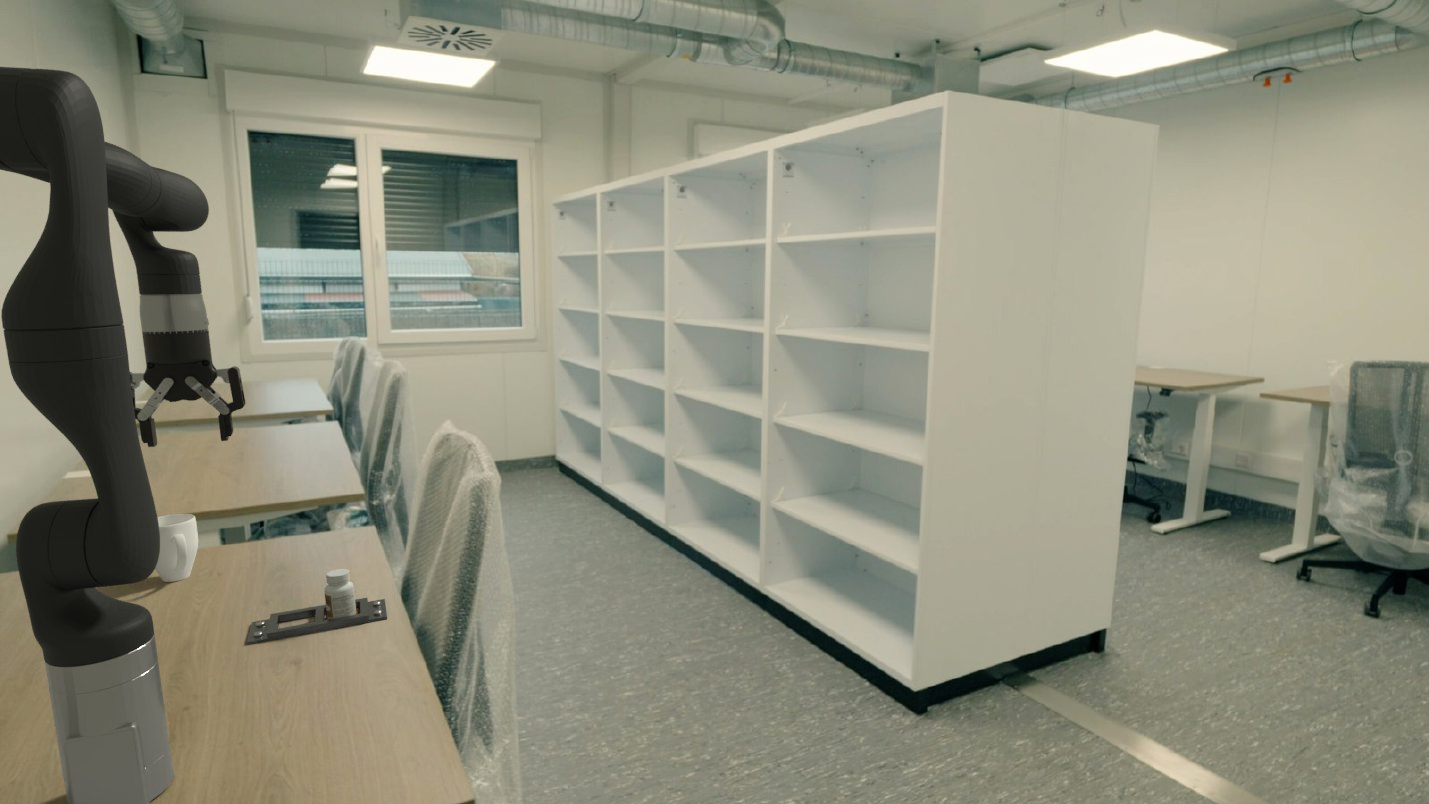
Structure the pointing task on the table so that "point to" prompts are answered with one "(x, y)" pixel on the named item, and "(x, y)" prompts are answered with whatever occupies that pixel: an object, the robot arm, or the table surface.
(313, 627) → the metal frame plate
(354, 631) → the table surface
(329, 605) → the pill bottle
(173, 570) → the mug
